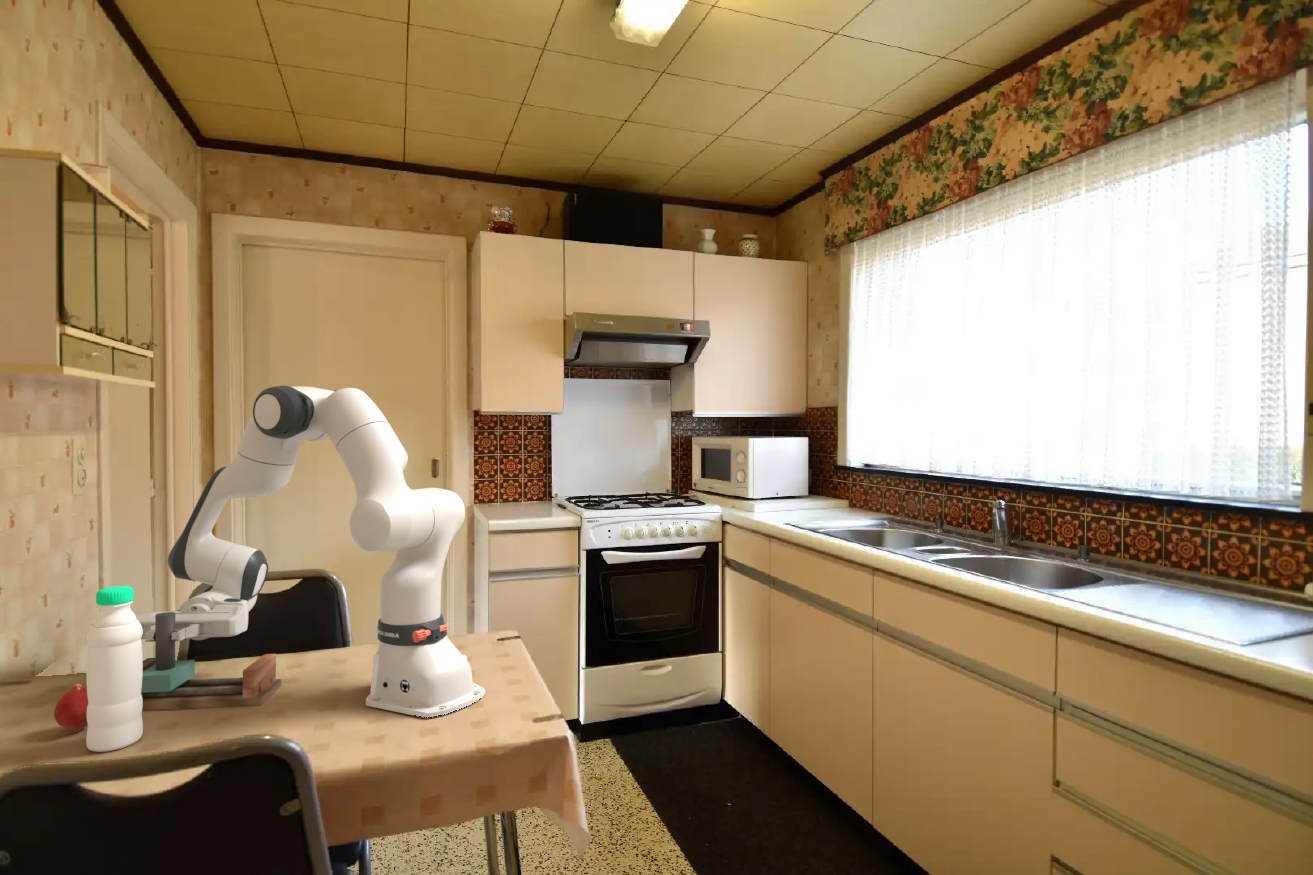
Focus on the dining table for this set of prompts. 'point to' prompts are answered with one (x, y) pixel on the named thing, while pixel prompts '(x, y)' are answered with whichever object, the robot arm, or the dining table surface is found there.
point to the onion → (73, 709)
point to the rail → (218, 689)
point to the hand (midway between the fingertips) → (162, 637)
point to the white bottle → (114, 673)
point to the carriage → (166, 659)
